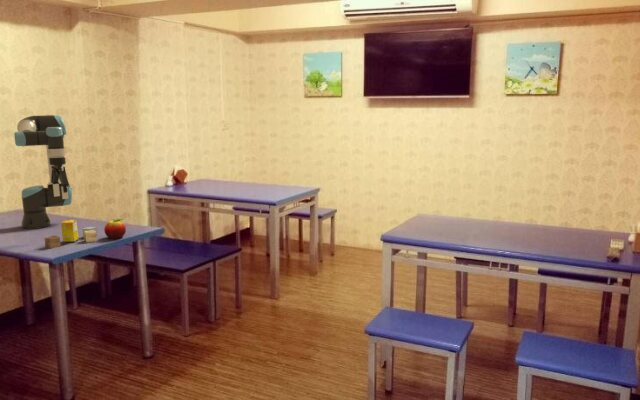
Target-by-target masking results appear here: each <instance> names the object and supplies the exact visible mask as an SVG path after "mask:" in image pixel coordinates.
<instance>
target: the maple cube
mask: <svg viewBox="0 0 640 400" xmlns="http://www.w3.org/2000/svg"><path fill="white" fill-rule="evenodd" d="M84 236H85V238H84V241H85V242H86V243H92V242H93V241H94V242H98V237H97V236H98V234H97V235H96V231H95V230H91V231H84ZM94 242H93V243H94Z"/></svg>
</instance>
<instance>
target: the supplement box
mask: <svg viewBox="0 0 640 400" xmlns="http://www.w3.org/2000/svg"><path fill="white" fill-rule="evenodd" d="M60 224H61V225H60V227H61V234H62V243H63V244H71V243H72V244H73V243H76V242H78V241H79V239H80V238H79V231H78V220H77V219H65V220H63V221H61V222H60Z"/></svg>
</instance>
